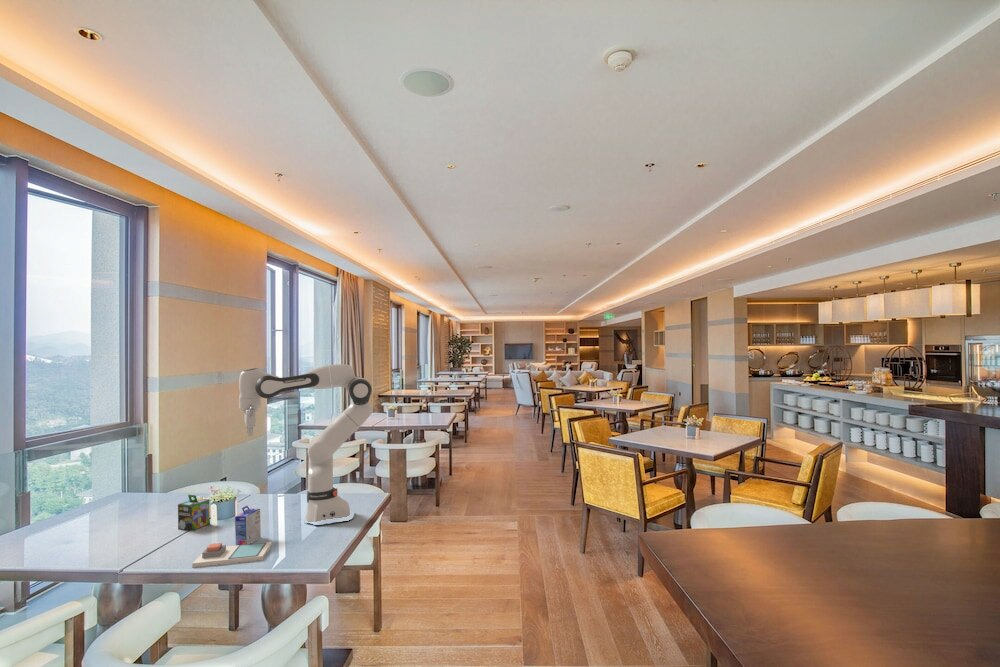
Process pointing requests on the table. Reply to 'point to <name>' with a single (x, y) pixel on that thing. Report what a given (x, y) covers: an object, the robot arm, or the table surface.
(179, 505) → the chalk box
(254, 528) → the ink cartridge box
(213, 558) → the picture board
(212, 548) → the button
